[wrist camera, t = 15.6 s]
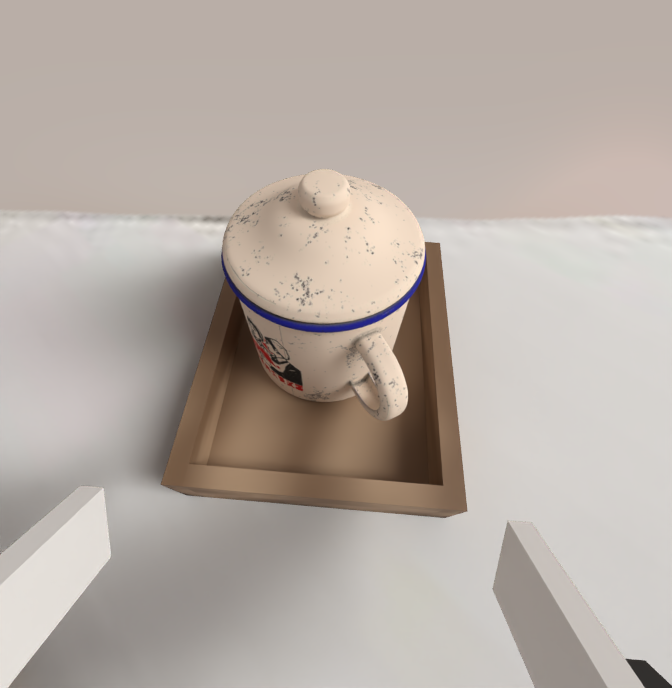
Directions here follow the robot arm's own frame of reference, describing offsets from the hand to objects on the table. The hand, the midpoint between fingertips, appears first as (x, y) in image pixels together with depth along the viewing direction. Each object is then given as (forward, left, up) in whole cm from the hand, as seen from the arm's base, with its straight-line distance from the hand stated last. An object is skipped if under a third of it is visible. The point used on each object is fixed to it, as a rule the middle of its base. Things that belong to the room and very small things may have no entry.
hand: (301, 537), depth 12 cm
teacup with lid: (0, +10, -7) cm, 12 cm away
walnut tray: (0, +10, -8) cm, 13 cm away
